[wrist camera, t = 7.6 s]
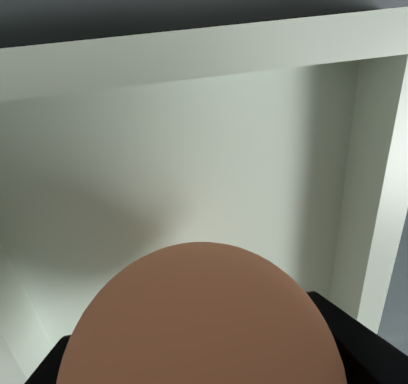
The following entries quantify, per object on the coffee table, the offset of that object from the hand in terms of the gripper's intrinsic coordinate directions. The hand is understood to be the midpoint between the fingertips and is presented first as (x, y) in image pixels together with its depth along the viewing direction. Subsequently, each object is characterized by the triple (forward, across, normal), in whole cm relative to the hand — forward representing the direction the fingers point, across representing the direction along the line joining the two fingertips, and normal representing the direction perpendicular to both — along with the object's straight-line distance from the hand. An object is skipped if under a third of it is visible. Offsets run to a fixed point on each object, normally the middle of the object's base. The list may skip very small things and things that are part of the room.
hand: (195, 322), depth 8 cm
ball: (-2, 0, 0) cm, 2 cm away
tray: (+4, 0, 0) cm, 4 cm away
